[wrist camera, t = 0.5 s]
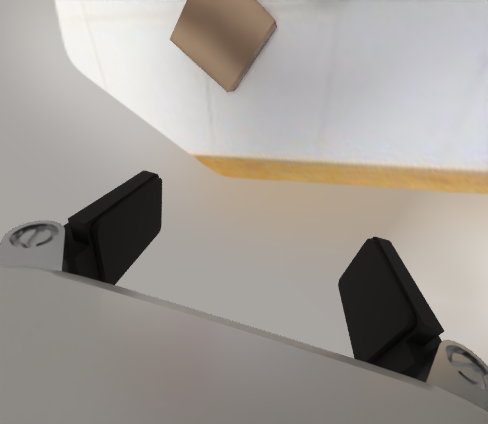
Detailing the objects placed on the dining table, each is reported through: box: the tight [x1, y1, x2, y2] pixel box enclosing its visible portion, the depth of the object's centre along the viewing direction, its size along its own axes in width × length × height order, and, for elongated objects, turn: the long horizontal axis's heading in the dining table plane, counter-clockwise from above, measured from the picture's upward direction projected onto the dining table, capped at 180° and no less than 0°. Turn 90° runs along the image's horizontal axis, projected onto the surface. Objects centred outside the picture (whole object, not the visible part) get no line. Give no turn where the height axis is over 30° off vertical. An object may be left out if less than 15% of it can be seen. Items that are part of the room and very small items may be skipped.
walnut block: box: [170, 0, 277, 92], centre depth 27 cm, size 9×9×4 cm
